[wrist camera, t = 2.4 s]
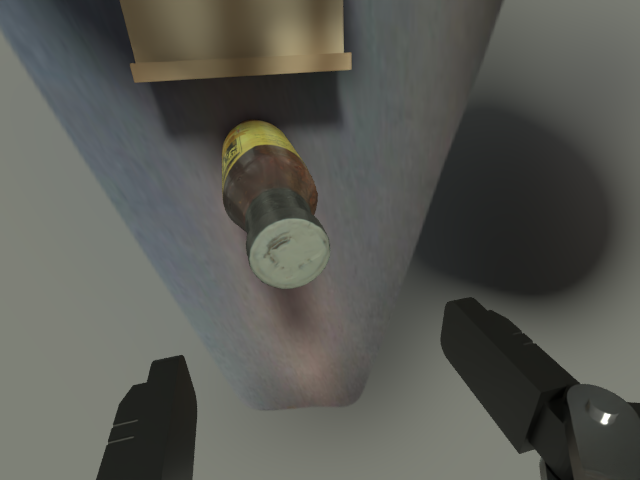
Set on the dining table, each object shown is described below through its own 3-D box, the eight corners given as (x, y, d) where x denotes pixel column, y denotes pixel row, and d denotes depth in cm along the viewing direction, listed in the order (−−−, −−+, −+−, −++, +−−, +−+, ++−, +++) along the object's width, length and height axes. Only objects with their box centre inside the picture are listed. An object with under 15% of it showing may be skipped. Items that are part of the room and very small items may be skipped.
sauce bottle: (217, 119, 32) (208, 186, 14) (286, 115, 33) (354, 173, 16) (227, 188, 35) (230, 314, 17) (290, 183, 36) (350, 294, 19)
